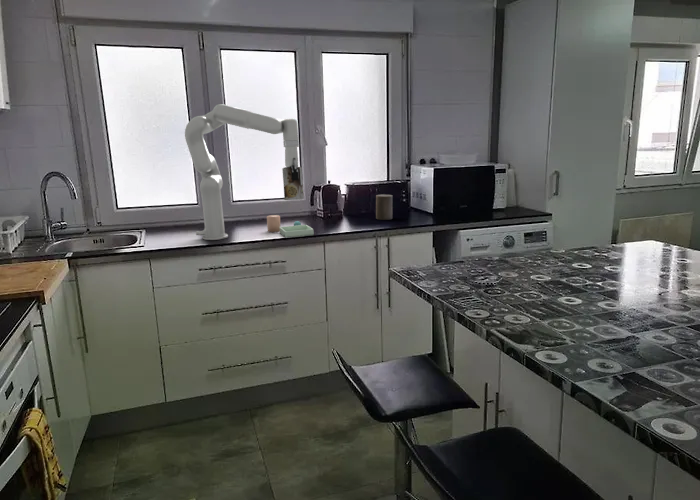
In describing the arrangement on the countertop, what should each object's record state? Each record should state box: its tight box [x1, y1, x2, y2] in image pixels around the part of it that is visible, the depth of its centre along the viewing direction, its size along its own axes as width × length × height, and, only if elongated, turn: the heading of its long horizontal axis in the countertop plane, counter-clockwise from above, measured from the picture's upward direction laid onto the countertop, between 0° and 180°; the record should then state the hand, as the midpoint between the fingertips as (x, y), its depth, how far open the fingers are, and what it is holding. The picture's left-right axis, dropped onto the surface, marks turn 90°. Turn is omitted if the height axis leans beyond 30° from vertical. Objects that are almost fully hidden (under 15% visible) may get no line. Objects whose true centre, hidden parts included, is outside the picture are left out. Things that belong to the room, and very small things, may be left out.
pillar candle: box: [375, 194, 393, 221], centre depth 299 cm, size 10×10×15 cm
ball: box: [293, 220, 302, 226], centre depth 278 cm, size 4×4×4 cm
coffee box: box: [281, 166, 305, 201], centre depth 257 cm, size 9×6×16 cm
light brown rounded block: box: [266, 214, 282, 233], centre depth 272 cm, size 7×7×8 cm
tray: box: [279, 224, 315, 239], centre depth 263 cm, size 15×15×3 cm
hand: (293, 179), depth 257 cm, fingers closed on coffee box, 8 cm apart
